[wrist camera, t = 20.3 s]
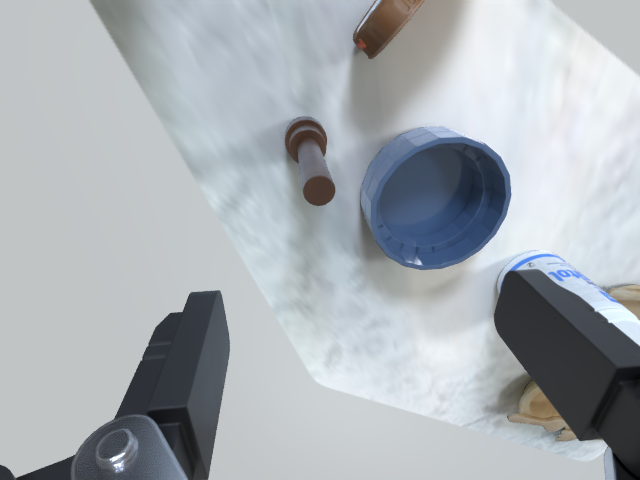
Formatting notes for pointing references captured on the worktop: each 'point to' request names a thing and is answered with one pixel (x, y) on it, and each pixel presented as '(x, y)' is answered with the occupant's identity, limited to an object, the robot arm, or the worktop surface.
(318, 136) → the muddler
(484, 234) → the bowl
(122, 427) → the robot arm
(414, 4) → the tin
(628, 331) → the supplement tub
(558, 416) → the tableware set
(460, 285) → the worktop surface
